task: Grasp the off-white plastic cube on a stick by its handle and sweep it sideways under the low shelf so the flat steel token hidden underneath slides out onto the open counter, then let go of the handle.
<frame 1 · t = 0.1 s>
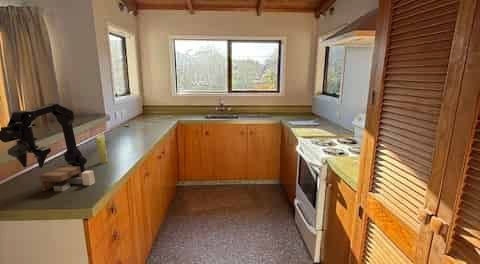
hand: (33, 167, 130), 15 cm above the countertop, fingers open, 9 cm apart
token: (62, 189, 140), on the countertop
shelf: (63, 185, 144), on the countertop
cube on a stick: (89, 183, 145), on the countertop
tube: (103, 162, 180), on the countertop
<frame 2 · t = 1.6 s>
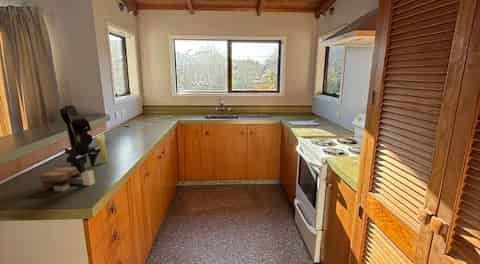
hand: (86, 169, 143), 8 cm above the countertop, fingers open, 9 cm apart
nothing on the countertop moved.
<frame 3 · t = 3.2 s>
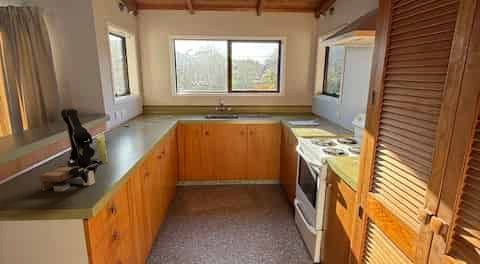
hand: (88, 181, 145), 2 cm above the countertop, fingers closed on cube on a stick, 4 cm apart
cube on a stick: (89, 183, 145), on the countertop, touching gripper
everything else where it was.
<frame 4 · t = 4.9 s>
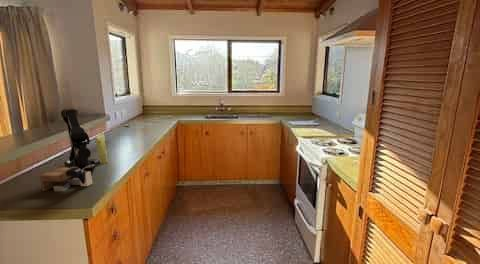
hand: (86, 181, 143), 2 cm above the countertop, fingers closed on cube on a stick, 4 cm apart
cube on a stick: (86, 184, 143), on the countertop, touching gripper
everything else where it was.
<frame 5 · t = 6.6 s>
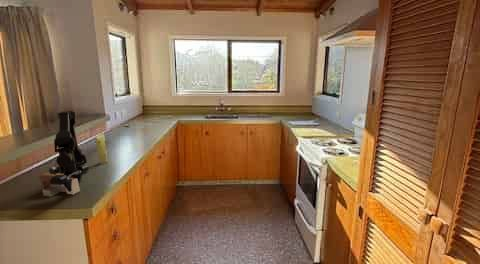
hand: (73, 189, 134), 2 cm above the countertop, fingers closed on cube on a stick, 4 cm apart
token: (51, 193, 134), on the countertop, touching cube on a stick
cube on a stick: (73, 192, 134), on the countertop, touching gripper, token
everything else where it was.
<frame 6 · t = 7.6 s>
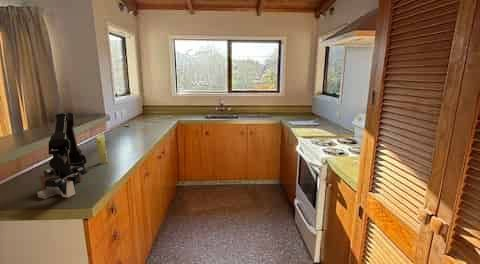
hand: (68, 192, 131), 2 cm above the countertop, fingers closed on cube on a stick, 4 cm apart
token: (47, 196, 132), on the countertop
cube on a stick: (68, 195, 131), on the countertop, touching gripper
everything else where it was.
when the fingers open (2 cm above the countertop, at t = 9.3 s): cube on a stick stays where it is, on the countertop.
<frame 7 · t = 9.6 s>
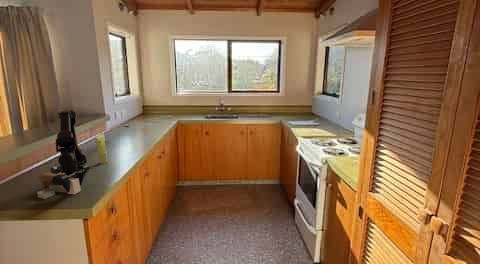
hand: (74, 188, 135), 2 cm above the countertop, fingers open, 8 cm apart
cube on a stick: (74, 192, 135), on the countertop
everything else where it was.
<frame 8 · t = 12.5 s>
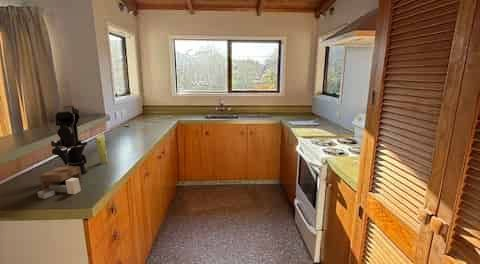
hand: (73, 161, 145), 12 cm above the countertop, fingers open, 9 cm apart
nothing on the countertop moved.
at the end: token inside the target area (6.2 cm from its centre), on the countertop; the gripper is holding nothing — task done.
